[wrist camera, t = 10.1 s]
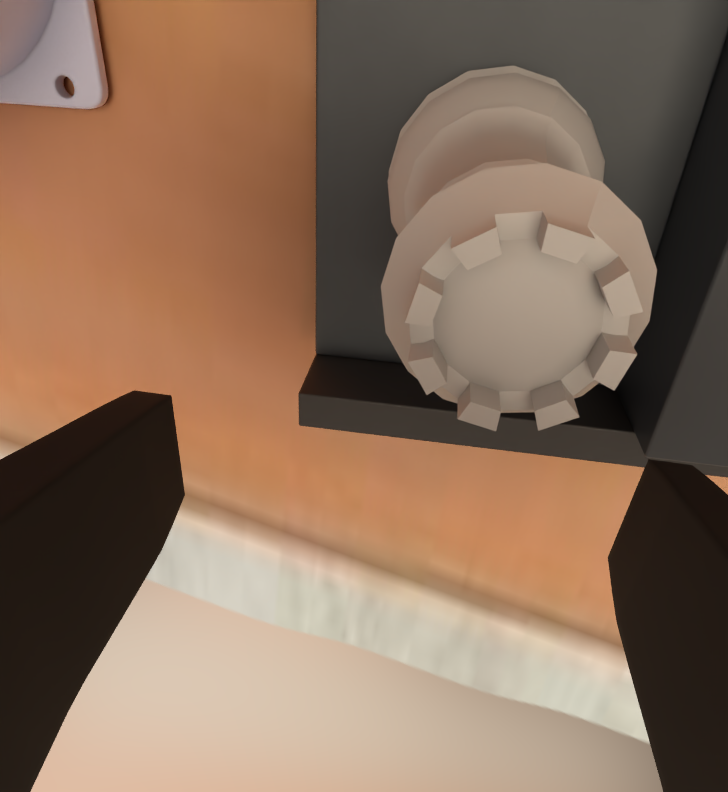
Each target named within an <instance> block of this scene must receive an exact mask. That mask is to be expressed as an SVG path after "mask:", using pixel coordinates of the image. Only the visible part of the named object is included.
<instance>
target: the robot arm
mask: <svg viewBox="0 0 728 792" xmlns="http://www.w3.org/2000/svg"><path fill="white" fill-rule="evenodd" d="M65 77H68V78H69V79H70V80H71V81H72V83H73V85H74V95H73V96H71V95H70V94H69V93H68V92H67V91H66V89H65V87H64V78H65ZM107 98H108V84H107V78H106V72H105V66H104V60H103V54H102V48H101V42H100V36H99V30H98V24H97V18H96V12H95V6H94V0H0V103H7V104H21V105H34V106H48V107H62V108H76V109H93V108H98V107H101V106H102V105H103V104H105V103H106V100H107ZM184 496H185V493H184V485H183V478H182V471H181V463H180V456H179V448H178V441H177V434H176V426H175V419H174V412H173V404H172V397H171V395H163V394H156V393H148V392H141V391H132V392H130V393H128V394H125V395H123V396H121V397H119V398H117V399H115V400H113V401H111V402H109V403H107V404H105V405H103V406H101V407H99V408H97V409H95V410H93V411H91V412H89V413H88V414H86V415H84V416H82V417H80V418H78V419H76V420H74V421H73V422H71V423H69V424H67V425H65V426H63V427H61V428H59V429H58V430H56V431H54V432H52V433H50V434H48V435H46V436H44V437H42V438H41V439H39V440H37V441H35V442H33V443H31V444H29V445H27V446H25V447H24V448H22V449H20V450H18V451H16V452H14V453H12V454H10V455H8V456H6V457H4V458H3V459H1V460H0V792H30V791H31V789H32V787H33V785H34V782H35V780H36V778H37V776H38V774H39V772H40V770H41V768H42V766H43V763H44V761H45V759H46V757H47V755H48V753H49V751H50V749H51V746H52V744H53V742H54V740H55V738H56V736H57V734H58V732H59V730H60V727H61V725H62V723H63V721H64V719H65V717H66V715H67V713H68V711H69V709H70V707H71V705H72V703H73V701H74V700H75V698H76V696H77V694H78V692H79V690H80V689H81V687H82V684H83V683H84V681H85V679H86V678H87V676H88V674H89V673H90V671H91V669H92V668H93V666H94V664H95V663H96V661H97V659H98V657H99V656H100V654H101V652H102V651H103V649H104V647H105V646H106V644H107V642H108V641H109V639H110V637H111V636H112V634H113V632H114V630H115V629H116V627H117V625H118V624H119V622H120V620H121V619H122V617H123V615H124V614H125V612H126V610H127V609H128V607H129V605H130V604H131V602H132V600H133V598H134V597H135V595H136V593H137V592H138V590H139V588H140V587H141V585H142V583H143V581H144V580H145V578H146V576H147V575H148V573H149V571H150V569H151V568H152V566H153V564H154V562H155V561H156V559H157V557H158V555H159V554H160V552H161V550H162V548H163V546H164V543H165V541H166V539H167V537H168V534H169V532H170V530H171V527H172V525H173V523H174V520H175V518H176V515H177V513H178V510H179V508H180V505H181V503H182V500H183V498H184ZM608 562H609V570H610V578H611V586H612V594H613V601H614V607H615V614H616V620H617V625H618V628H619V632H620V636H621V640H622V644H623V647H624V651H625V655H626V658H627V662H628V666H629V669H630V673H631V677H632V680H633V684H634V688H635V691H636V695H637V698H638V702H639V705H640V709H641V712H642V716H643V720H644V723H645V727H646V730H647V734H648V737H649V741H650V745H651V748H652V752H653V755H654V759H655V762H656V766H657V770H658V773H659V777H660V780H661V784H662V788H663V792H728V495H727V494H726V493H725V492H724V491H723V490H722V489H721V488H719V487H718V486H717V485H716V484H715V483H714V482H713V481H711V480H710V479H709V478H708V477H707V476H705V475H704V474H703V473H702V472H701V471H699V470H698V469H697V468H695V467H694V466H693V465H689V464H681V463H674V462H666V461H659V460H651V459H648V462H647V464H646V466H645V469H644V471H643V474H642V476H641V479H640V481H639V483H638V486H637V488H636V491H635V493H634V495H633V498H632V500H631V503H630V505H629V508H628V510H627V512H626V515H625V517H624V520H623V522H622V525H621V527H620V529H619V532H618V534H617V537H616V539H615V541H614V544H613V546H612V549H611V551H610V554H609V556H608Z"/></svg>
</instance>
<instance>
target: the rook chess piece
mask: <svg viewBox="0 0 728 792" xmlns="http://www.w3.org/2000/svg"><path fill="white" fill-rule="evenodd" d="M604 167H605V160H604V157H603V154H602V151H601V148H600V145H599V142H598V139H597V136H596V133H595V130H594V127H593V124H592V121H591V119H590V118H589V117H588V115H587V112H586V110H585V109H584V108H583V107H582V106H581V105H580V104H579V103H578V102H577V101H576V100H575V99H574V98H573V97H572V96H571V95H570V94H569V93H568V92H567V91H566V90H565V89H564V88H563V87H562V86H561V85H560V84H559V83H558V82H557V81H556V80H555V79H552V78H549V77H546V76H543V75H540V74H537V73H534V72H531V71H528V70H525V69H522V68H519V67H517V66H514V65H513V66H505V67H496V68H488V69H480V70H471V71H467V72H465V73H464V74H462V75H460V76H459V77H457V78H455V79H454V80H452V81H450V82H448V83H447V84H445V85H443V86H442V87H440V88H438V89H437V90H435V91H433V92H431V93H430V94H428V95H427V97H426V98H425V99H424V101H423V102H422V103H421V105H420V106H419V107H418V108H417V110H416V111H415V112H414V114H413V115H412V116H411V117H410V119H409V120H408V121H407V123H406V124H405V125H404V127H403V128H402V129H401V131H400V134H399V138H398V141H397V145H396V148H395V151H394V155H393V158H392V162H391V165H390V168H389V177H388V192H389V203H390V215H391V223H392V224H393V226H394V228H395V230H396V232H397V234H398V236H397V238H396V240H395V243H394V246H393V249H392V253H391V256H390V259H389V262H388V265H387V268H386V271H385V274H384V278H383V281H382V284H381V293H382V302H383V312H384V322H385V331H386V334H387V336H388V337H389V339H390V341H391V343H392V345H393V346H394V348H395V350H396V352H397V353H398V355H399V357H400V359H401V360H402V362H403V364H404V366H405V367H406V369H407V371H408V372H409V373H411V374H412V375H413V376H414V377H416V378H417V379H418V381H419V382H420V384H421V386H422V388H423V390H424V391H425V393H426V395H428V394H430V393H431V392H433V391H434V392H435V393H436V394H437V395H439V396H440V397H441V398H442V399H445V400H448V401H451V402H454V403H457V404H458V410H457V419H459V420H462V421H465V422H468V423H471V424H474V425H477V426H480V427H484V428H487V429H490V430H493V431H496V430H497V426H498V422H499V418H500V414H501V413H519V412H535V417H536V422H537V427H538V431H540V430H543V429H546V428H549V427H552V426H555V425H558V424H561V423H564V422H567V421H570V420H573V419H576V418H579V414H578V411H577V407H576V404H575V400H574V399H575V398H578V397H580V396H583V395H584V394H585V393H587V392H588V391H589V390H590V389H592V388H593V387H594V386H596V385H597V384H598V383H601V384H603V385H605V386H607V387H608V388H610V389H612V390H614V391H615V389H616V388H617V386H618V384H619V383H620V381H621V380H622V378H623V376H624V375H625V373H626V372H627V370H628V368H629V367H630V365H631V364H632V362H633V361H634V359H635V357H636V356H637V353H636V351H635V349H634V345H635V344H636V342H637V341H638V339H639V337H640V336H641V334H642V332H643V331H644V329H645V328H646V326H647V324H648V323H649V321H650V315H651V308H652V301H653V295H654V288H655V281H656V274H657V268H656V265H655V262H654V259H653V256H652V253H651V250H650V247H649V243H648V240H647V237H646V234H645V231H644V228H643V225H642V222H641V220H640V219H639V218H638V217H637V216H636V215H635V214H634V213H633V212H632V211H631V210H630V209H629V208H628V207H627V206H626V205H625V204H624V203H623V202H622V201H621V200H620V199H619V198H618V197H617V196H616V195H615V194H614V193H613V192H612V191H611V190H610V189H609V188H608V187H607V186H606V185H605V184H604V183H603V177H604Z"/></svg>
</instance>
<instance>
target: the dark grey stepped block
mask: <svg viewBox="0 0 728 792" xmlns="http://www.w3.org/2000/svg"><path fill="white" fill-rule="evenodd" d="M513 65H514V66H517V67H519V68H522V69H525V70H528V71H531V72H534V73H537V74H540V75H543V76H546V77H549V78H552V79H555V80H556V81H557V82H558V83H559V84H560V85H561V86H562V87H563V88H564V89H565V90H566V91H567V92H568V93H569V94H570V95H571V96H572V97H573V98H574V99H575V100H576V101H577V102H578V103H579V104H580V105H581V106H582V107H583V108H584V109H585V110H586V112H587V115H588V117H589V118H590V119H591V121H592V124H593V127H594V130H595V133H596V136H597V139H598V142H599V145H600V148H601V151H602V154H603V157H604V160H605V167H604V177H603V183H604V184H605V185H606V186H607V187H608V188H609V189H610V190H611V191H612V192H613V193H614V194H615V195H616V196H617V197H618V198H619V199H620V200H621V201H622V202H623V203H624V204H625V205H626V206H627V207H628V208H629V209H630V210H631V211H632V212H633V213H634V214H635V215H636V216H637V217H638V218H639V219H640V220H641V222H642V225H643V228H644V231H645V234H646V237H647V240H648V243H649V247H650V250H651V253H652V256H653V259H654V262H655V265H656V268H657V274H656V281H655V288H654V295H653V301H652V308H651V315H650V321H649V323H648V324H647V326H646V328H645V329H644V331H643V332H642V334H641V336H640V337H639V339H638V341H637V342H636V344H635V345H634V349H635V351H636V353H637V356H636V357H635V359H634V361H633V362H632V364H631V365H630V367H629V368H628V370H627V372H626V373H625V375H624V376H623V378H622V380H621V381H620V383H619V384H618V386H617V388H616V389H615V391H614V390H612V389H610V388H608V387H607V386H605V385H603V384H601V383H598V384H597V385H596V386H594V387H593V388H592V389H590V390H589V391H588V392H587V393H585V394H584V395H583V396H580V397H578V398H575V399H574V400H575V404H576V407H577V411H578V414H579V418H576V419H573V420H570V421H567V422H564V423H561V424H558V425H555V426H552V427H549V428H546V429H543V430H540V431H538V427H537V422H536V417H535V412H519V413H501V414H500V418H499V422H498V426H497V430H496V431H493V430H490V429H487V428H484V427H480V426H477V425H474V424H471V423H468V422H465V421H462V420H459V419H457V410H458V404H457V403H454V402H451V401H448V400H445V399H442V398H441V397H440V396H439V395H437V394H436V393H435V392H434V391H433V392H431V393H430V394H428V395H426V393H425V391H424V390H423V388H422V386H421V384H420V382H419V381H418V379H417V378H416V377H414V376H413V375H412V374H411V373H409V372H408V371H407V369H406V367H405V366H404V364H403V362H402V360H401V359H400V357H399V355H398V353H397V352H396V350H395V348H394V346H393V345H392V343H391V341H390V339H389V337H388V336H387V334H386V331H385V322H384V312H383V302H382V293H381V284H382V281H383V278H384V274H385V271H386V268H387V265H388V262H389V259H390V256H391V253H392V249H393V246H394V243H395V240H396V238H397V236H398V234H397V232H396V230H395V228H394V226H393V224H392V223H391V215H390V203H389V192H388V177H389V168H390V165H391V162H392V158H393V155H394V151H395V148H396V145H397V141H398V138H399V134H400V131H401V129H402V128H403V127H404V125H405V124H406V123H407V121H408V120H409V119H410V117H411V116H412V115H413V114H414V112H415V111H416V110H417V108H418V107H419V106H420V105H421V103H422V102H423V101H424V99H425V98H426V97H427V95H428V94H430V93H431V92H433V91H435V90H437V89H438V88H440V87H442V86H443V85H445V84H447V83H448V82H450V81H452V80H454V79H455V78H457V77H459V76H460V75H462V74H464V73H465V72H467V71H471V70H480V69H488V68H496V67H505V66H513ZM299 425H301V426H308V427H316V428H324V429H333V430H341V431H349V432H357V433H366V434H374V435H382V436H390V437H399V438H407V439H415V440H423V441H432V442H440V443H448V444H456V445H465V446H473V447H481V448H489V449H497V450H506V451H514V452H522V453H530V454H539V455H547V456H555V457H563V458H572V459H580V460H588V461H596V462H605V463H613V464H621V465H629V466H638V467H645V466H646V464H647V462H648V459H651V460H659V461H666V462H674V463H681V464H689V465H693V466H694V467H695V468H697V469H698V470H699V471H701V472H702V473H703V474H704V475H712V476H720V477H728V0H316V356H315V358H314V360H313V363H312V365H311V367H310V369H309V372H308V374H307V376H306V378H305V381H304V383H303V385H302V387H301V390H300V392H299Z"/></svg>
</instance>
